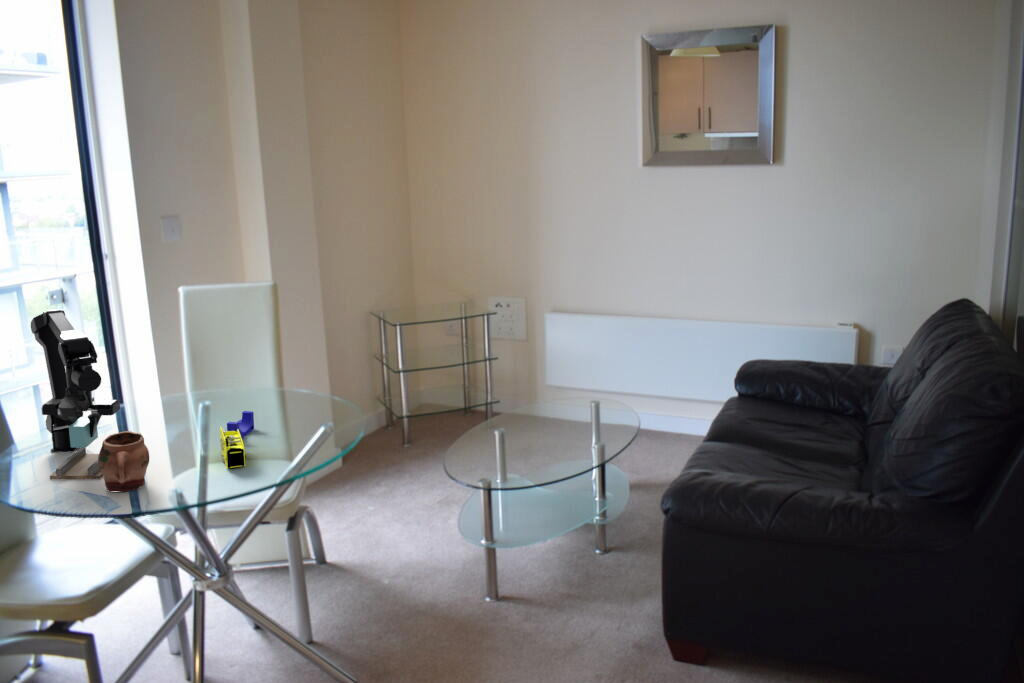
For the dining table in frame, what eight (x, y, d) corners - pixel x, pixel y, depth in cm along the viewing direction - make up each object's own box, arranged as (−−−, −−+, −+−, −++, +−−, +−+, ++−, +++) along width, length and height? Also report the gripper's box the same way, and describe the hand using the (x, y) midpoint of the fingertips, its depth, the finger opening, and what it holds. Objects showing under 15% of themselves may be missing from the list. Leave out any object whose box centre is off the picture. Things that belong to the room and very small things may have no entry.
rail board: (49, 479, 232) (48, 468, 232) (75, 457, 248) (74, 447, 247) (99, 479, 233) (98, 468, 232) (122, 457, 249) (121, 447, 248)
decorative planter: (154, 499, 222) (149, 448, 218) (101, 507, 217) (96, 454, 213) (149, 471, 239) (145, 423, 236) (100, 477, 234) (95, 429, 231)
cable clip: (240, 428, 275) (239, 410, 273) (254, 429, 274) (253, 411, 273) (223, 441, 263) (222, 422, 262) (237, 442, 263) (236, 424, 261)
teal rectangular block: (70, 447, 235) (68, 426, 233) (83, 437, 242) (81, 416, 241) (86, 447, 235) (83, 426, 234) (98, 437, 243) (96, 416, 241)
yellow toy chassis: (219, 451, 255) (217, 424, 253) (239, 449, 258) (238, 422, 256) (225, 471, 241) (223, 443, 239) (246, 468, 243) (245, 440, 241)
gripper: (28, 391, 226) (35, 447, 230) (102, 391, 227) (107, 447, 231) (48, 378, 237) (54, 432, 241) (118, 379, 238) (123, 433, 242)
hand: (84, 436), depth 238 cm, fingers closed on teal rectangular block, 4 cm apart
